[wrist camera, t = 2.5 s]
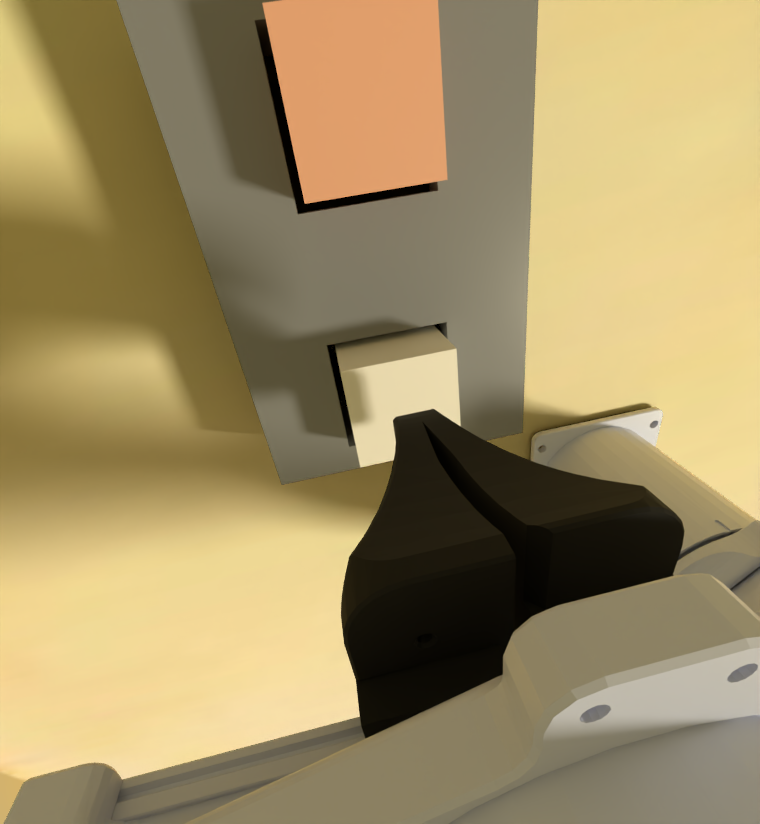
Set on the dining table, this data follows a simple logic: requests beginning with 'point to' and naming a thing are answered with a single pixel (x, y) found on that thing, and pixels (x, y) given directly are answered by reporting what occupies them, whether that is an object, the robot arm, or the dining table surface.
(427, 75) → the button
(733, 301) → the dining table surface
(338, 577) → the dining table surface
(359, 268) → the block
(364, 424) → the button
